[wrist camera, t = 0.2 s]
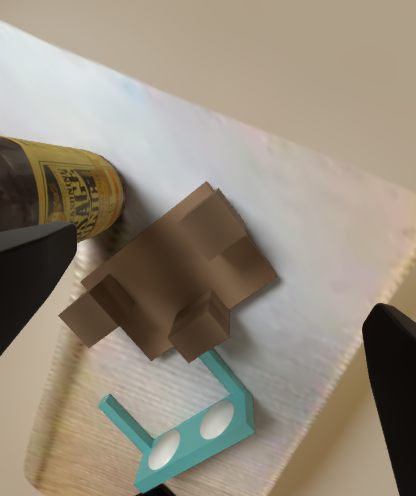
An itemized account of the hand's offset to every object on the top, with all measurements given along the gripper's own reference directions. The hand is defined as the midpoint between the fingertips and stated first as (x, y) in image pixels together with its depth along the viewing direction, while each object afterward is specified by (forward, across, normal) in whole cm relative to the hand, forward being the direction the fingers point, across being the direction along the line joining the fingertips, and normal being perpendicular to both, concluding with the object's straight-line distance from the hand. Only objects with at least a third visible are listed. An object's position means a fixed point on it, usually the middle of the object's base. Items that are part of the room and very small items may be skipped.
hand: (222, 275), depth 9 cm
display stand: (+13, +2, +10) cm, 17 cm away
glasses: (+11, 0, +22) cm, 24 cm away
